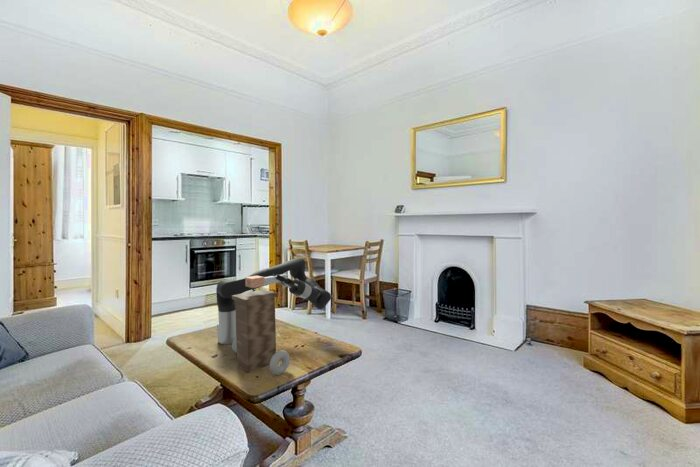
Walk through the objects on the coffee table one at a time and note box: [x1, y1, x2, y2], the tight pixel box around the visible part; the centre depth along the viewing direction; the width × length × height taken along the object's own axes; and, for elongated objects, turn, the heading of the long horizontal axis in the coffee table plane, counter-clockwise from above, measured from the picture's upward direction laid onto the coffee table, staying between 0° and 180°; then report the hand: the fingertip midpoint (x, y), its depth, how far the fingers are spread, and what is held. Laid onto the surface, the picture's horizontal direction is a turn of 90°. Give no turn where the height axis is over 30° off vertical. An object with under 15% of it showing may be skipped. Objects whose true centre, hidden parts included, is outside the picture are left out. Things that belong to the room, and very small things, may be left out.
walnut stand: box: [232, 289, 279, 374], centre depth 149 cm, size 16×12×32 cm
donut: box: [269, 349, 291, 376], centre depth 140 cm, size 10×4×10 cm, turn 143°
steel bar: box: [244, 273, 289, 289], centre depth 153 cm, size 20×6×4 cm, turn 136°
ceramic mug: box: [231, 339, 237, 354], centre depth 162 cm, size 11×8×8 cm
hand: (274, 276), depth 155 cm, fingers closed on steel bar, 3 cm apart
